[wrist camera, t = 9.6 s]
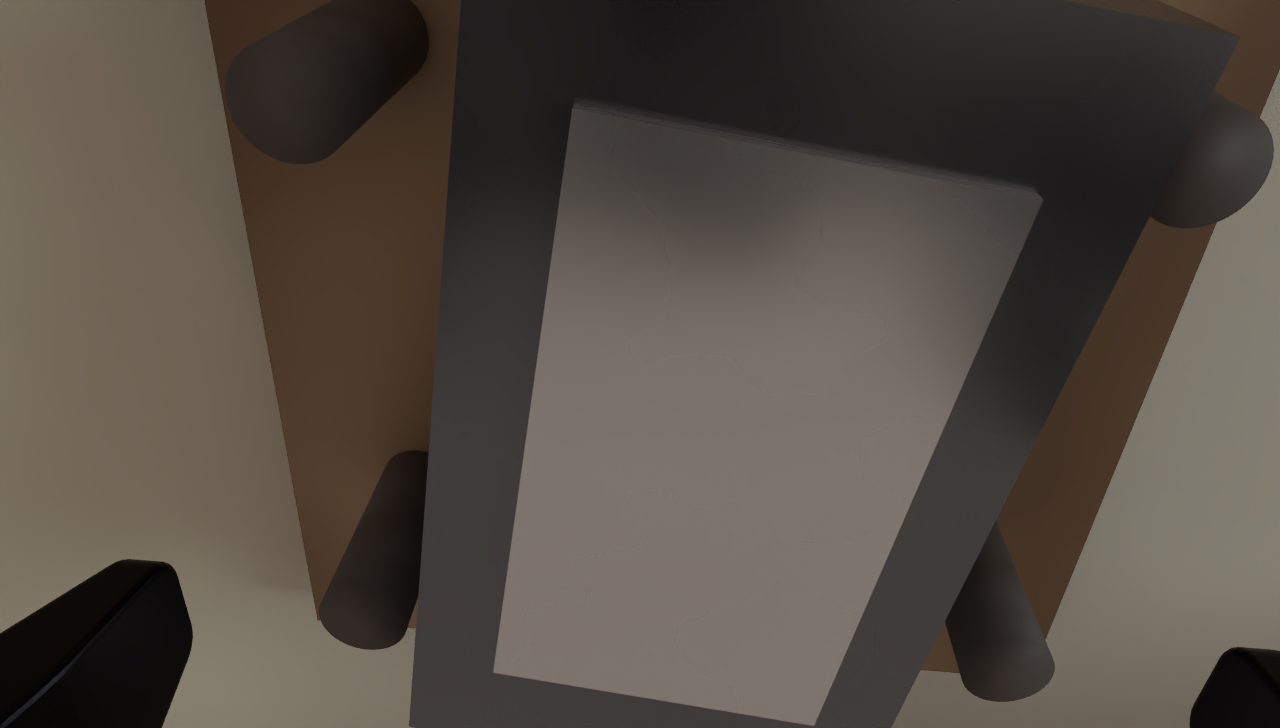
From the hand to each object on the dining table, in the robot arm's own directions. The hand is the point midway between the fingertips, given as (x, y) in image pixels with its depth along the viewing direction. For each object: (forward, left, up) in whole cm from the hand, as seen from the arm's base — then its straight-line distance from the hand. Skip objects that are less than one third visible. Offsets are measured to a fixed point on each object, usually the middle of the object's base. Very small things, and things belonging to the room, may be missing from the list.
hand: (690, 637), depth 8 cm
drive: (0, 0, -6) cm, 6 cm away
